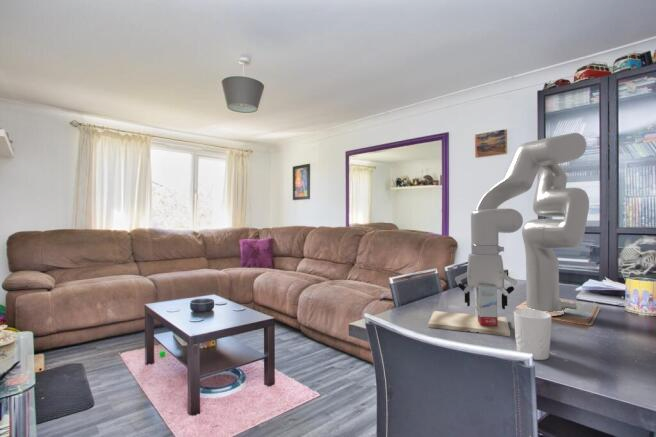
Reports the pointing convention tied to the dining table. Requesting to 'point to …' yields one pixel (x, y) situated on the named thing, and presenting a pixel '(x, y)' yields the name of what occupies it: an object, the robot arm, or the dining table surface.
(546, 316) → the white cup
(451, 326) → the birch board
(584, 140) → the robot arm
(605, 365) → the dining table surface
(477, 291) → the ink box
